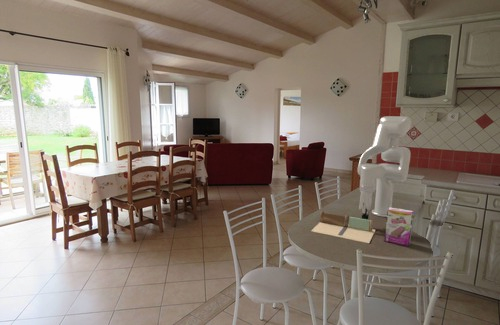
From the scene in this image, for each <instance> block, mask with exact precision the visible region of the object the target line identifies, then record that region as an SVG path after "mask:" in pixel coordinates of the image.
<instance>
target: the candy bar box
mask: <svg viewBox="0 0 500 325" xmlns="http://www.w3.org/2000/svg"><path fill="white" fill-rule="evenodd" d="M413 220H414V210H408V209H403V208H396V207H392V208H391V207H389V208H388V210H387V217H386V221H385V232H384V242H388V243H392V244H397V245H400V246H401V245H402V246H405V247H406V246H407V247H410V245H411V239H412V238H411V237H412V231H413V229H412V228H413Z"/></svg>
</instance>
